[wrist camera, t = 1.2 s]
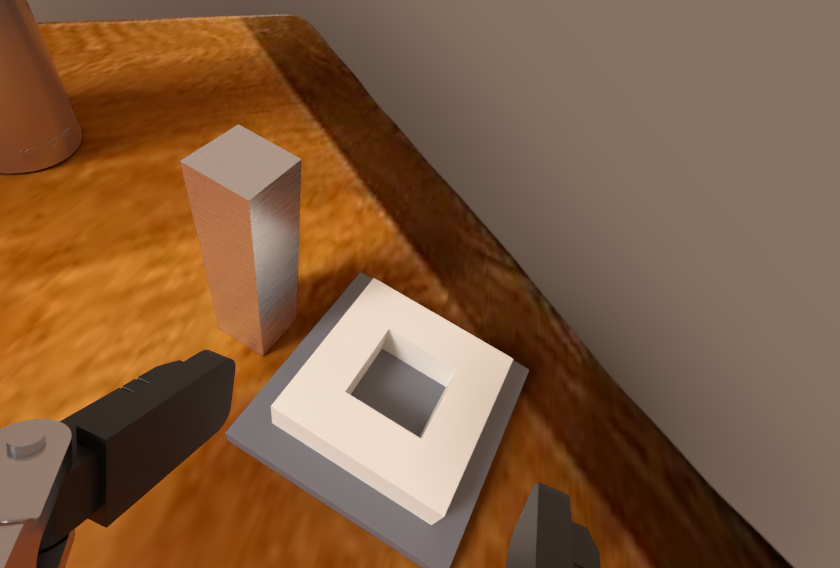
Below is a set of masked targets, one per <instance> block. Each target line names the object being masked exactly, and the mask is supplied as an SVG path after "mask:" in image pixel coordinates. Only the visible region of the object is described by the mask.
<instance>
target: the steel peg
mask: <svg viewBox="0 0 840 568" xmlns="http://www.w3.org/2000/svg"><path fill="white" fill-rule="evenodd" d="M180 163H181V167H182V172H183V176H184V180H185V185H186V189H187V193H188V197H189V202H190V206H191V210H192V214H193V219H194V223H195V227H196V231H197V236H198V240H199V244H200V249H201V253H202V257H203V261H204V266H205V270H206V274H207V278H208V283H209V287H210V291H211V295H212V300H213V304H214V308H215V313H216V317H217V321H218V325H219V329H220V330H222V331H223V332H225V333H226V334H228V335H230V336H231V337H233V338H235V339H236V340H238V341H239V342H241V343H243V344H244V345H246V346H247V347H249V348H251V349H252V350H254V351H255V352H257V353H259V354H260V355H262V356H264V355H265V354H266V353H267V352H268V350H269V349H270V348H271V347H272V346H273V345H274V344H275V343H276V341H277V340H278V339H279V338H280V337H281V336H282V335H283V334H284V332H285V331H286V330H287V329H288V328H289V327H290V326H291V325H292V323H293V322H294V321H295V320H296V319H297V288H298V255H299V221H300V187H301V159H300V158H298V157H296V156H295V155H293V154H291V153H289V152H287V151H286V150H284V149H282V148H280V147H278V146H277V145H275V144H273V143H271V142H269V141H268V140H266V139H264V138H262V137H260V136H259V135H257V134H255V133H253V132H251V131H250V130H248V129H246V128H244V127H242V126H241V125H239V124H238V125H237V126H235V127H233V128H232V129H230V130H229V131H227V132H225V133H224V134H222V135H221V136H219V137H217V138H216V139H214V140H213V141H211V142H209V143H208V144H206V145H205V146H203V147H201V148H200V149H198V150H197V151H195V152H194V153H192V154H190V155H189V156H187V157H186V158H184V159H182V160H181V161H180Z"/></svg>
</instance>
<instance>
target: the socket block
mask: <svg viewBox="0 0 840 568" xmlns="http://www.w3.org/2000/svg"><path fill="white" fill-rule="evenodd" d="M528 372H529V369H527V368H526V367H524V366H522V365H520V364H519V363H517V362H515V361H513V358H511V357H510V356H508V355H506V354H504V353H503V352H501V351H499V350H498V349H496V348H494V347H492V346H491V345H489V344H487V343H485V342H484V341H482V340H480V339H479V338H477V337H475V336H473V335H472V334H470V333H468V332H466V331H465V330H463V329H461V328H460V327H458V326H456V325H454V324H453V323H451V322H449V321H447V320H446V319H444V318H442V317H441V316H439V315H437V314H435V313H434V312H432V311H430V310H429V309H427V308H425V307H423V306H422V305H420V304H418V303H416V302H415V301H413V300H411V299H410V298H408V297H406V296H404V295H403V294H401V293H399V292H397V291H396V290H394V289H392V288H391V287H389V286H387V285H385V284H384V283H382V282H380V281H378V280H377V279H375V278H373V279H372V278H370V277H369V276H367V275H365V274H363V273H362V272H360V273H359V274H358V276H357V277H356V278H355V279H354V280H353V281H352V283H351V284H350V285H349V286H348V287H347V289H346V290H345V291H344V292H343V293H342V295H341V296H340V297H339V298H338V299H337V300H336V302H335V303H334V304H333V305H332V306H331V308H330V309H329V310H328V311H327V312H326V314H325V315H324V316H323V317H322V318H321V319H320V321H319V322H318V323H317V324H316V325H315V327H314V328H313V329H312V330H311V331H310V333H309V334H308V335H307V336H306V337H305V339H304V340H303V341H302V342H301V343H300V344H299V346H298V347H297V348H296V349H295V350H294V352H293V353H292V354H291V355H290V356H289V358H288V359H287V360H286V361H285V362H284V363H283V365H282V366H281V367H280V368H279V369H278V371H277V372H276V373H275V374H274V375H273V377H272V378H271V379H270V380H269V381H268V382H267V384H266V385H265V386H264V387H263V388H262V390H261V391H260V392H259V393H258V394H257V396H256V397H255V398H254V399H253V400H252V401H251V403H250V404H249V405H248V406H247V407H246V409H245V410H244V411H243V412H242V413H241V415H240V416H239V417H238V418H237V419H236V421H235V422H234V423H233V424H232V425H231V426H230V428H229V429H228V430H227V431H226V432H225V434H226V437H227V440H228V441H230V442H231V443H233V444H234V445H236V446H237V447H239V448H240V449H242V450H243V451H245V452H246V453H248V454H249V455H251V456H252V457H254V458H255V459H257V460H259V461H260V462H262V463H263V464H265V465H266V466H268V467H269V468H271V469H272V470H274V471H275V472H277V473H278V474H280V475H281V476H283V477H284V478H286V479H287V480H289V481H291V482H292V483H294V484H295V485H297V486H298V487H300V488H301V489H303V490H304V491H306V492H307V493H309V494H310V495H312V496H313V497H315V498H316V499H318V500H320V501H321V502H323V503H324V504H326V505H327V506H329V507H330V508H332V509H333V510H335V511H336V512H338V513H339V514H341V515H342V516H344V517H345V518H347V519H348V520H350V521H352V522H353V523H355V524H356V525H358V526H359V527H361V528H362V529H364V530H365V531H367V532H368V533H370V534H371V535H373V536H374V537H376V538H377V539H379V540H381V541H382V542H384V543H385V544H387V545H388V546H390V547H391V548H393V549H394V550H396V551H397V552H399V553H400V554H402V555H403V556H405V557H406V558H408V559H409V560H411V561H413V562H414V563H416V564H417V565H419V566H420V567H422V568H450V566H451V563H452V561H453V558H454V556H455V553H456V551H457V548H458V546H459V543H460V541H461V538H462V536H463V533H464V531H465V528H466V526H467V523H468V521H469V518H470V516H471V513H472V511H473V508H474V506H475V503H476V501H477V498H478V496H479V494H480V491H481V489H482V486H483V484H484V481H485V479H486V476H487V474H488V471H489V469H490V466H491V464H492V461H493V459H494V456H495V454H496V451H497V449H498V446H499V444H500V441H501V439H502V436H503V434H504V431H505V429H506V426H507V424H508V422H509V419H510V417H511V414H512V412H513V409H514V407H515V404H516V402H517V399H518V397H519V394H520V392H521V389H522V387H523V384H524V382H525V379H526V377H527V374H528Z"/></svg>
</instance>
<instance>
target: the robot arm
mask: <svg viewBox="0 0 840 568" xmlns="http://www.w3.org/2000/svg"><path fill="white" fill-rule="evenodd" d="M81 140H82V130H81V127H80V125H79V123H78V120H77V118H76V116H75V113H74V111H73V108H72V106H71V104H70V101H69V99H68V96H67V94H66V91H65V89H64V86H63V84H62V82H61V79H60V77H59V75H58V72H57V70H56V67H55V65H54V63H53V60H52V58H51V56H50V53H49V51H48V48H47V46H46V44H45V41H44V39H43V37H42V34H41V32H40V29H39V27H38V25H37V22H36V20H35V18H34V15H33V13H32V10H31V8H30V6H29V3H28V1H27V0H0V173H4V174H12V173H25V172H31V171H37V170H40V169H44V168H47V167H50V166H53V165H55V164H57V163H60V162H61V161H63V160H65V159H66V158H68V157H69V156H71V155H72V154H73V153H74V152H75V151H76V150H77V148H78V147H79V145H80V144H81ZM234 375H235V362H234V360H232V359H230V358H227V357H225V356H222V355H220V354H217V353H215V352H212V351H210V350H203V351H201V352H199V353H198V354H196V355H194V356H192V357H191V358H189V359H187V360H186V361H184V362H183V361H180V360H179V361H175V362H171V363H168V364H164V365H161V366H157V367H155V368H153V369H152V370H150V371H148V372H146V373H145V374H143V375H141V376H139V377H138V379H137V380H136V379H134V380H132V381H130V382H129V383H127V384H125V385H123V387H122V388H121V389H120V388H118V389H116V390H115V391H113V392H111V393H109V394H108V395H106V396H104V397H102V398H100V399H99V400H97V401H95V402H93V403H92V404H90V405H88V406H86V407H85V408H83V409H81V410H79V411H78V412H76V413H74V414H72V415H71V416H69V417H67V418H65V419H63V420H62V421H60V422H59V421H55V420H49V419H34V420H27V421H22V422H18V423H14V424H11V425H8V426H6V427H4V428H1V429H0V568H65V566H66V563H67V559H68V556H69V553H70V550H71V547H72V544H73V541H74V536H75V528H76V527H77V526H79V525H80V524H81V523H82V522H84V521H85V520H86V519H87V518H88V519H90V520H92V521H94V522H96V523H98V524H100V525H102V526H104V527H106V528H107V527H108V526H109V525H110V524H111V523H112V522H114V521H115V520H116V519H117V518H118V517H119V516H121V515H122V514H123V513H124V512H125V511H126V510H127V509H129V508H130V507H131V506H132V505H133V504H134V503H136V502H137V501H138V500H139V499H140V498H141V497H143V496H144V495H145V494H146V493H147V492H148V491H149V490H151V489H152V488H153V487H154V486H155V485H156V484H158V483H159V482H160V481H161V480H162V479H163V478H164V477H166V476H167V475H168V474H169V473H170V472H171V471H173V470H174V469H175V468H176V467H177V466H178V465H180V464H181V463H182V462H183V461H184V460H185V459H186V458H188V457H189V456H190V455H191V454H192V453H193V452H195V451H196V450H197V449H198V448H199V447H200V446H202V445H203V444H204V443H205V442H206V441H207V440H208V439H210V438H211V437H212V436H213V435H214V434H215V433H217V432H218V431H219V430H220V428H221V427H222V426H223V424H224V423H225V421H226V419H227V417H228V415H229V412H230V408H231V401H232V392H233V384H234ZM506 568H600V559H599V551H598V549H597V547H596V545H595V543H594V541H593V539H592V537H591V535H590V533H589V531H588V529H587V528H586V527H583V526H581V525H578V524H576V523H574V522H571V511H570V497H569V495H568V494H565V493H563V492H560V491H558V490H555V489H553V488H550V487H548V486H545V485H543V484H540V483H538V482H536V483H535V484H534V486H533V488H532V490H531V493H530V495H529V497H528V499H527V502H526V504H525V506H524V509H523V511H522V513H521V515H520V518H519V520H518V522H517V525H516V527H515V529H514V532H513V535H512V538H511V542H510V546H509V550H508V555H507V563H506Z"/></svg>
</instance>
